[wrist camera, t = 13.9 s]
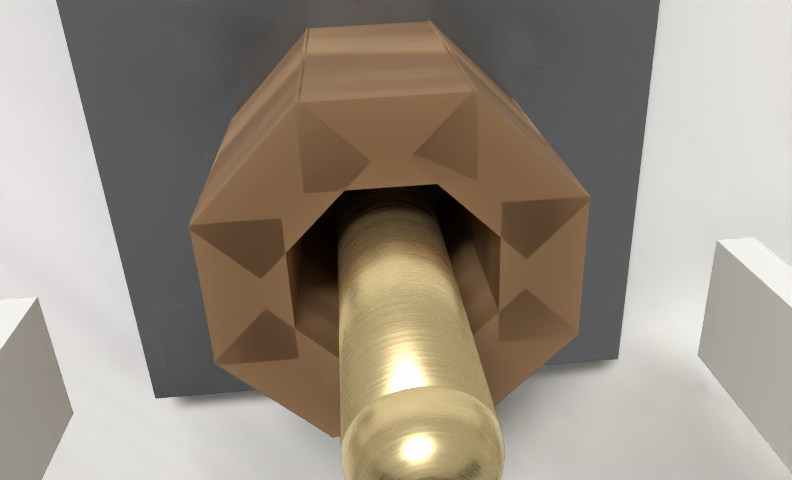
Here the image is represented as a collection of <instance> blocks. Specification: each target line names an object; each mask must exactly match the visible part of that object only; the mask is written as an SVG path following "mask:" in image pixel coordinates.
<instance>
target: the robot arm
mask: <svg viewBox="0 0 792 480" xmlns="http://www.w3.org/2000/svg"><path fill="white" fill-rule="evenodd" d="M698 356H699V357H700V359H701V360H702V361H703V362H704V364H705V365H706V366H707V367H708V369H709V370H710V371H711V372H712V374H713V375H714V376H715V378H716V379H717V380H718V381H719V383H720V384H721V385H722V386H723V388H724V389H725V390H726V391H727V393H728V394H729V395H730V396H731V398H732V399H733V400H734V401H735V403H736V404H737V405H738V406H739V408H740V409H741V410H742V411H743V413H744V414H745V415H746V416H747V418H748V419H749V420H750V421H751V423H752V424H753V425H754V426H755V428H756V429H757V430H758V431H759V433H760V434H761V435H762V436H763V438H764V439H765V440H766V442H767V443H768V444H769V445H770V447H771V448H772V449H773V450H774V452H775V453H776V454H777V455H778V457H779V458H780V459H781V460H782V462H783V463H784V464H785V465H786V467H787V468H788V469H789V470H790V472H791V473H792V267H790V266H789V265H788V264H787V263H786V262H784V261H783V260H782V259H781V258H779V257H778V256H777V255H776V254H774V253H773V252H772V251H771V250H770V249H768V248H767V247H766V246H765V245H763V244H762V243H761V242H760V241H759V240H757V239H756V238H755V237H749V238H737V239H725V240H717V243H716V249H715V255H714V261H713V267H712V273H711V279H710V285H709V291H708V297H707V303H706V309H705V315H704V321H703V327H702V333H701V339H700V345H699V351H698ZM72 415H73V411H72V408H71V404H70V401H69V398H68V395H67V391H66V388H65V385H64V382H63V378H62V375H61V372H60V369H59V365H58V362H57V359H56V356H55V352H54V349H53V346H52V343H51V339H50V336H49V333H48V330H47V326H46V323H45V320H44V316H43V313H42V310H41V307H40V303H39V300H38V297H28V298H16V299H4V300H0V480H42V478H43V475H44V473H45V471H46V469H47V467H48V465H49V463H50V461H51V459H52V457H53V455H54V452H55V450H56V448H57V446H58V444H59V442H60V440H61V438H62V436H63V434H64V431H65V429H66V427H67V425H68V423H69V421H70V419H71V417H72Z"/></svg>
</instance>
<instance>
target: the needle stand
mask: <svg viewBox="0 0 792 480" xmlns="http://www.w3.org/2000/svg"><path fill="white" fill-rule="evenodd" d="M56 2H57V6H58V10H59V14H60V18H61V22H62V26H63V30H64V34H65V38H66V42H67V46H68V50H69V54H70V58H71V62H72V66H73V70H74V74H75V78H76V82H77V86H78V90H79V94H80V98H81V102H82V106H83V110H84V114H85V118H86V122H87V126H88V130H89V134H90V138H91V142H92V146H93V150H94V154H95V158H96V162H97V166H98V170H99V174H100V178H101V182H102V186H103V190H104V194H105V198H106V202H107V206H108V210H109V214H110V218H111V222H112V226H113V230H114V234H115V238H116V242H117V246H118V250H119V254H120V258H121V262H122V266H123V270H124V274H125V278H126V282H127V286H128V290H129V294H130V298H131V302H132V306H133V310H134V314H135V318H136V322H137V326H138V330H139V334H140V338H141V342H142V346H143V350H144V354H145V358H146V362H147V366H148V370H149V374H150V378H151V382H152V386H153V390H154V394H155V398H167V397H179V396H190V395H202V394H214V393H225V392H237V391H249V390H257V389H255V388H253V387H252V386H250V385H249V384H247V383H245V382H244V381H242V380H241V379H239V378H237V377H236V376H234V375H233V374H231V373H229V372H228V371H226V370H225V369H223V368H221V367H220V366H218V365H216V364H215V363H214V360H215V359H214V354H213V348H212V343H211V338H210V333H209V328H208V322H207V317H206V312H205V307H204V302H203V297H202V291H201V286H200V281H199V276H198V271H197V266H196V260H195V255H194V250H193V245H192V240H191V234H190V230H189V229H188V227H189V223H190V220H191V218H192V215H193V213H194V210H195V208H196V206H197V203H198V201H199V198H200V196H201V193H202V191H203V188H204V186H205V183H206V181H207V178H208V176H209V173H210V171H211V168H212V166H213V163H214V161H215V158H216V156H217V153H218V151H219V148H220V146H221V143H222V141H223V138H224V136H225V133H226V131H227V128H228V126H229V123H230V121H231V119H232V117H234V116H235V115H236V113H237V112H238V111H239V110H240V109H241V107H242V106H243V105H244V104H245V103H246V101H247V100H248V99H249V98H250V97H251V95H252V94H253V93H254V92H255V91H256V89H257V88H258V87H259V86H260V85H261V83H262V82H263V81H264V80H265V79H266V77H267V76H268V75H269V74H270V73H271V72H272V70H273V69H274V68H275V67H276V66H277V64H278V63H279V62H280V61H281V60H282V58H283V57H284V56H285V55H286V54H287V52H288V51H289V50H290V49H291V48H292V46H293V45H294V44H295V43H296V42H297V40H298V39H299V38H300V37H301V36H302V34H303V33H304V32H305V31H306V28H308V27H309V28H321V27H338V26H355V25H372V24H389V23H406V22H423V21H429V20H430V21H432V22H433V23H434V25H435V26H436V27H437V28H438V29H439V30H440V31H441V32H442V33H443V34H444V35H445V36H446V37H447V38H449V39H450V40H451V41H452V42H453V43H454V44H455V45H456V46H457V47H458V48H459V49H460V50H461V51H462V52H463V53H464V54H465V55H466V56H467V57H468V58H469V59H471V60H472V61H473V62H474V63H475V64H476V65H477V66H478V67H479V68H480V69H481V70H482V71H483V72H484V73H485V74H486V75H487V76H488V77H489V78H490V79H491V80H493V81H494V82H495V83H496V84H497V85H498V86H499V87H500V88H501V89H502V90H503V91H504V92H505V93H506V94H507V95H508V96H509V97H510V98H511V99H514V100H515V102H516V103H517V104H518V105H519V107H520V108H521V109H522V110H523V112H524V113H525V114H526V116H527V117H528V118H529V119H530V121H531V122H532V123H533V124H534V126H535V127H536V128H537V129H538V131H539V132H540V133H541V135H542V136H543V137H544V138H545V140H546V141H547V142H548V143H549V145H550V146H551V147H552V148H553V150H554V151H555V152H556V153H557V155H558V156H559V157H560V159H561V160H562V161H563V162H564V164H565V165H566V166H567V167H568V169H569V170H570V171H571V172H572V174H573V175H574V176H575V177H576V179H577V180H578V181H579V183H580V184H581V185H582V186H583V188H584V189H585V190H586V191H587V193H588V194H589V195H590V198H591V200H590V205H589V216H588V227H587V239H586V250H585V262H584V273H583V285H582V296H581V307H580V319H579V330H578V331H579V334H578V336H576V337H574V338H573V339H572V340H571V341H570V342H569V343H567V344H566V345H565V346H564V347H563V348H562V349H560V350H559V351H558V352H557V353H556V354H555V355H553V356H552V357H551V358H550V359H549V360H548V361H547V362H545V363H544V364H543V365H553V364H564V363H576V362H588V361H599V360H611V359H618V353H619V345H620V336H621V328H622V319H623V311H624V302H625V293H626V285H627V276H628V268H629V259H630V251H631V242H632V234H633V225H634V217H635V208H636V200H637V191H638V183H639V174H640V165H641V157H642V148H643V140H644V131H645V123H646V114H647V106H648V97H649V89H650V80H651V72H652V63H653V55H654V46H655V37H656V29H657V20H658V12H659V3H660V0H56ZM445 193H446V191H445V190H444V189H443V188H442V187H441V186H439V185H438V184H428V185H414V186H400V187H386V188H371V189H357V190H344V191H343V193H342V194H341V195H340V196H339V197H338V198H337V199H336V200H335V201H334V202H333V203H332V204H331V205H330V206H329V208H328V209H327V210H326V211H325V212H326V213H327V214H328V215H330V216H331V217H332V218H334V219H335V220H336V221H337V230H338V293H339V355H340V418H341V462H342V469H343V474H344V477H345V480H501V478H502V474H503V468H504V460H505V453H504V441H503V436H502V432H501V427H500V424H499V421H498V418H497V414H496V411H495V408H494V404H493V401H492V398H491V394H490V391H489V388H488V384H487V381H486V378H485V375H484V371H483V368H482V365H481V361H480V358H479V355H478V351H477V348H476V345H475V341H474V338H473V335H472V332H471V328H470V325H469V322H468V318H467V315H466V312H465V308H464V305H463V302H462V299H461V295H460V292H459V289H458V285H457V282H456V279H455V275H454V272H453V269H452V265H451V262H450V259H449V256H448V252H447V249H446V246H445V242H444V239H443V236H442V232H441V229H440V226H439V222H438V219H437V216H436V213H435V209H434V206H433V205H434V204H435V203H436V202H437V201H438V200H439V199H440V198H441V197H442V196H443V195H444V194H445Z"/></svg>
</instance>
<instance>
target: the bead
mask: <svg viewBox="0 0 792 480" xmlns="http://www.w3.org/2000/svg"><path fill="white" fill-rule="evenodd" d="M428 184H438V185H439V186H441V187H442V188H443V189H444V190H445V191H446V193H445V194H444V195H443V196H442V197H441V198H440V199H439V200H438V201H437V202H436V203H435V204H434V205H433V206H434V209H435V213H436V216H437V219H438V222H439V226H440V229H441V232H442V236H443V239H444V242H445V246H446V249H447V252H448V256H449V259H450V262H451V265H452V269H453V272H454V275H455V279H456V282H457V285H458V289H459V292H460V295H461V299H462V302H463V305H464V308H465V312H466V315H467V318H468V322H469V325H470V328H471V332H472V335H473V338H474V341H475V345H476V348H477V351H478V355H479V358H480V361H481V365H482V368H483V371H484V375H485V378H486V381H487V384H488V388H489V391H490V394H491V398H492V401H493V404H494V406H495V405H497V404H498V403H499V402H500V401H501V400H502V399H504V398H505V397H506V396H507V395H508V394H509V393H511V392H512V391H513V390H514V389H515V388H516V387H517V386H519V385H520V384H521V383H522V382H523V381H524V380H526V379H527V378H528V377H529V376H530V375H531V374H533V373H534V372H535V371H536V370H537V369H538V368H540V367H541V366H542V365H543V364H544V363H545V362H547V361H548V360H549V359H550V358H551V357H552V356H553V355H555V354H556V353H557V352H558V351H559V350H560V349H562V348H563V347H564V346H565V345H566V344H567V343H569V342H570V341H571V340H572V339H573V338H574V337H576V336H578V334H579V331H578V330H579V319H580V307H581V296H582V285H583V273H584V262H585V250H586V239H587V227H588V216H589V205H590V200H591V198H590V195H589V194H588V193H587V191H586V190H585V189H584V188H583V186H582V185H581V184H580V183H579V181H578V180H577V179H576V177H575V176H574V175H573V174H572V172H571V171H570V170H569V169H568V167H567V166H566V165H565V164H564V162H563V161H562V160H561V159H560V157H559V156H558V155H557V153H556V152H555V151H554V150H553V148H552V147H551V146H550V145H549V143H548V142H547V141H546V140H545V138H544V137H543V136H542V135H541V133H540V132H539V131H538V129H537V128H536V127H535V126H534V124H533V123H532V122H531V121H530V119H529V118H528V117H527V116H526V114H525V113H524V112H523V110H522V109H521V108H520V107H519V105H518V104H517V103H516V102H515V100H514V99H511V98H510V97H509V96H508V95H507V94H506V93H505V92H504V91H503V90H502V89H501V88H500V87H499V86H498V85H497V84H496V83H495V82H494V81H493V80H491V79H490V78H489V77H488V76H487V75H486V74H485V73H484V72H483V71H482V70H481V69H480V68H479V67H478V66H477V65H476V64H475V63H474V62H473V61H472V60H471V59H469V58H468V57H467V56H466V55H465V54H464V53H463V52H462V51H461V50H460V49H459V48H458V47H457V46H456V45H455V44H454V43H453V42H452V41H451V40H450V39H449V38H447V37H446V36H445V35H444V34H443V33H442V32H441V31H440V30H439V29H438V28H437V27H436V26H435V25H434V23H433V22H432V21H430V20H429V21H423V22H406V23H389V24H372V25H355V26H338V27H321V28H309V27H308V28H306V31H305V32H304V33H303V34H302V36H301V37H300V38H299V39H298V40H297V42H296V43H295V44H294V45H293V46H292V48H291V49H290V50H289V51H288V52H287V54H286V55H285V56H284V57H283V58H282V60H281V61H280V62H279V63H278V64H277V66H276V67H275V68H274V69H273V70H272V72H271V73H270V74H269V75H268V76H267V77H266V79H265V80H264V81H263V82H262V83H261V85H260V86H259V87H258V88H257V89H256V91H255V92H254V93H253V94H252V95H251V97H250V98H249V99H248V100H247V101H246V103H245V104H244V105H243V106H242V107H241V109H240V110H239V111H238V112H237V113H236V115H235V116H234V117H232V119H231V121H230V123H229V126H228V128H227V131H226V133H225V136H224V138H223V141H222V143H221V146H220V148H219V151H218V153H217V156H216V158H215V161H214V163H213V166H212V168H211V171H210V173H209V176H208V178H207V181H206V183H205V186H204V188H203V191H202V193H201V196H200V198H199V201H198V203H197V206H196V208H195V210H194V213H193V215H192V218H191V220H190V223H189V227H188V229H189V230H190V234H191V240H192V245H193V250H194V255H195V260H196V266H197V271H198V276H199V281H200V286H201V291H202V297H203V302H204V307H205V312H206V317H207V322H208V328H209V333H210V338H211V343H212V348H213V354H214V359H215V360H214V363H215V364H216V365H218V366H220V367H221V368H223V369H225V370H226V371H228V372H229V373H231V374H233V375H234V376H236V377H237V378H239V379H241V380H242V381H244V382H245V383H247V384H249V385H250V386H252V387H253V388H255V389H257V390H258V391H260V392H261V393H263V394H265V395H266V396H268V397H269V398H271V399H273V400H274V401H276V402H277V403H279V404H281V405H282V406H284V407H285V408H287V409H289V410H290V411H292V412H293V413H295V414H297V415H298V416H300V417H301V418H303V419H305V420H306V421H308V422H309V423H311V424H313V425H314V426H316V427H317V428H319V429H321V430H322V431H324V432H325V433H327V434H329V435H330V436H331V437H333V438H334V437H338V436H341V418H340V355H339V293H338V230H337V221H336V220H335V219H334V218H332V217H331V216H330V215H328V214H327V213H326V212H325V211H326V210H327V209H328V208H329V206H330V205H331V204H332V203H333V202H334V201H335V200H336V199H337V198H338V197H339V196H340V195H341V194H342V193H343V191H344V190H357V189H371V188H386V187H400V186H414V185H428Z"/></svg>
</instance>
